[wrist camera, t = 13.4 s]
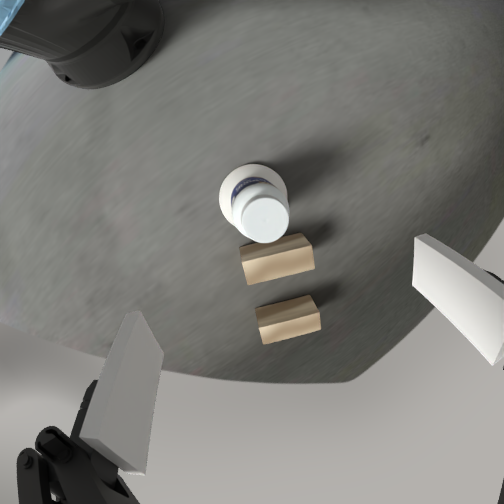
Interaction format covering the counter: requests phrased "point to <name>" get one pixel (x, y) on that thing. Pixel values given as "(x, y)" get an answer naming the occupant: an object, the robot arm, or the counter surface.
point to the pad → (241, 174)
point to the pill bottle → (259, 209)
